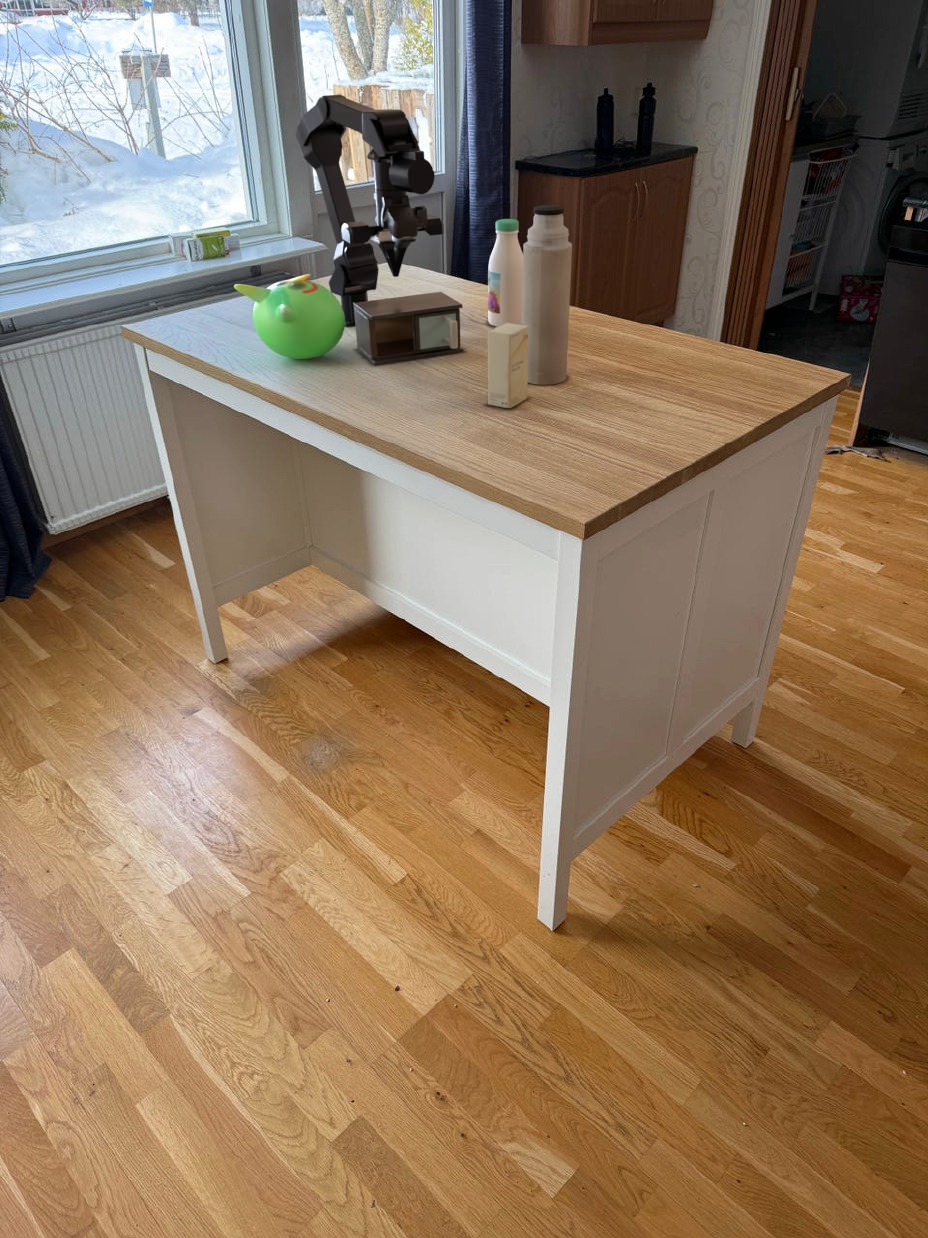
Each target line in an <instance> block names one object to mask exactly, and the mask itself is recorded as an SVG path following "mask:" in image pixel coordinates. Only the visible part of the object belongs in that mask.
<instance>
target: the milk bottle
mask: <svg viewBox="0 0 928 1238" xmlns="http://www.w3.org/2000/svg"><path fill="white" fill-rule="evenodd" d="M519 226H520V223H519V220H518V219H513V218H502V219H498V220H496V221H495V233H496V238H495V242H494V246H493V249H492V251H491V253H490V255H489V260H488V270H487V316H488V317H487V318H488V319H487V321H488V323H489V324H490V325H491V326H495V327H498V326H500V325H502V324H504V323H512V324H519V325H522V311H523V251H522V247H521V246H520V242H519V238H518V233H520V232H519Z"/></svg>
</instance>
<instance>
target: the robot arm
mask: <svg viewBox="0 0 928 1238" xmlns="http://www.w3.org/2000/svg"><path fill="white" fill-rule="evenodd" d="M347 129H351V130H353V131H355V132H358V133H360V134H361V139H362V141H364V142H365V144H367V145H368V146H369V147H371V148H372V149H371V150H370V151H369V152H368V153H367V156H366V158H367V160H370V161H373V162H372V165H373V178H374V192H373V200H375V209H376V216H375V217H374V219H375V224H373V225H372V224H371V225H369V224H368V223H365V222H364V221H356V219H355V216H354V211H353V208H352V204H351V201H350V197H349V195H348V194H349V193H348V190H347V187H346V183H345V179H344V176H343V175H344V174H343V173H342V169H341V164H340V160H341V156H342V151H343V148H344V147H343V141H342V138H343V136H344V135H345V133H346V131H347ZM295 140H296V143H297V144H298V146H299V149H300V151H301V154H302V157H303V159H304V160H305V161H306V162H307V163H308V164H309V165H310V166H311V168H313V169H314V171H315V173H316V176H317V180H318V183H319V186H320V190H321V193H322V197H323V201H324V204H325V207H326V211H327V214H328V218H329V223H330V225H331V228H332V232H333V235H334V239H335V242H336V247H335V251H334V255H333V265H334V270H333V272H332V274H331V276H330V278H329V280H328V285H329V291H330V292H331V293H332V294H333V295H336V296H340V305H341V307H342V309H343V312H344V317H345V327H349V326H350V327H351V326H355V315H354V304H353V303H357V302H365V301H369V297H368V296H369V295H368V294H369V293H368V292H369V291H376V290H377V288H378V287H377V286H378V280H379V279H378V278H379V265H378V260H377V259H376V256H375V251H374V246H373V245H372V243H371V242H373V243H375V244H377V245H378V247H379V249H380V250H381V252H382V254H383V257H384V258H385V261H386V263H387V266H388V268H389V271H390V273H391V275H392V277H394V278H398V277H399V276H400V273H401V269H402V265H403V262H404V258H405V255H406V252H407V250H408V247H410V245H411V244H412V243H415V242H416V240H417V238H416V237H417V236H418V232H425V234H427V235H428V236H430V237H432V236H440V235H444V234H445V230H444V228H445V227H444V226H445V225H444V222H443V220H442V219H441V218H440V217H438V216H437V215H433V214H428V209H427V207H426V206H425V205H419V206H415V207H412V206H411V205H410V198H409V195H408V194H407V193H411V194H415V195H421V196H422V195H425V194H427V193H428V192H429V191H430V190H431V189H432V188H433V185H434V183H435V176H436V175H435V171H434V168H433V166H432V163H431V162H429V160H428V159H426V158H425V151H423V150H421V149H420V146H419V141H418V139H417V137H416V136H415V134H414V131H413V128H412V127H411V124H410V121H409V119H408V118H407V115H406V113H405V111H403V110H402V109H393V108H389V109H388V108H387V109H385V108H384V109H374V108H373V107H370V106H367V105H366V104H362V103H359V102H357V101H354V100H352V99H349V98H347V97H346V96H345V95H342V94H328V95H327V94H326V95H322V96H321V97H319V98H318V100H317V101H316V103H315V105H314V106H312V107H311V108H310V109H309V110H308V111H307V112H305V113H304V114H303V115H302V116H301V118H300V120H299V122H298V124H297V127H296V129H295ZM370 240H371V242H369V241H370Z"/></svg>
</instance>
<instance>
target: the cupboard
mask: <svg viewBox="0 0 928 1238" xmlns="http://www.w3.org/2000/svg"><path fill="white" fill-rule="evenodd" d="M353 304H354V315H355V325H354V326H355V337H356V349H357V351H358V352H359V353H360V354H361V355H362V356H364V358H366V359H367V360H368V361H369V362H370V363H371V364H372V365H373V366H382V365H388V364H394V363H395V364H396V363H400V362H401V363H402V362H407V361H408V362H409V361H414V360H421V359H426V358H432V357H433V358H434V357H440V356H447V355H453V354H460V353H464V348H463V347H461V346H460V347H458V348H456V349H452V348H447V349H441V350H434V351H428V352H421V353H416V348H415V328H414V315H415V314H422V313H430V312H437V311H444V310H452V309H463V303H461V302H459V301H457V300H456V299H454V298H453V297H451V296H449V295H448V294H446V293H445V292H443V291H437V292H436V291H435V292H427V293H419V294H413V295H411V294H410V295H405V296H397V297H389V298H380V299H374V300H373V299H372V300H368V301H365V302H357V303H353Z"/></svg>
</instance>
